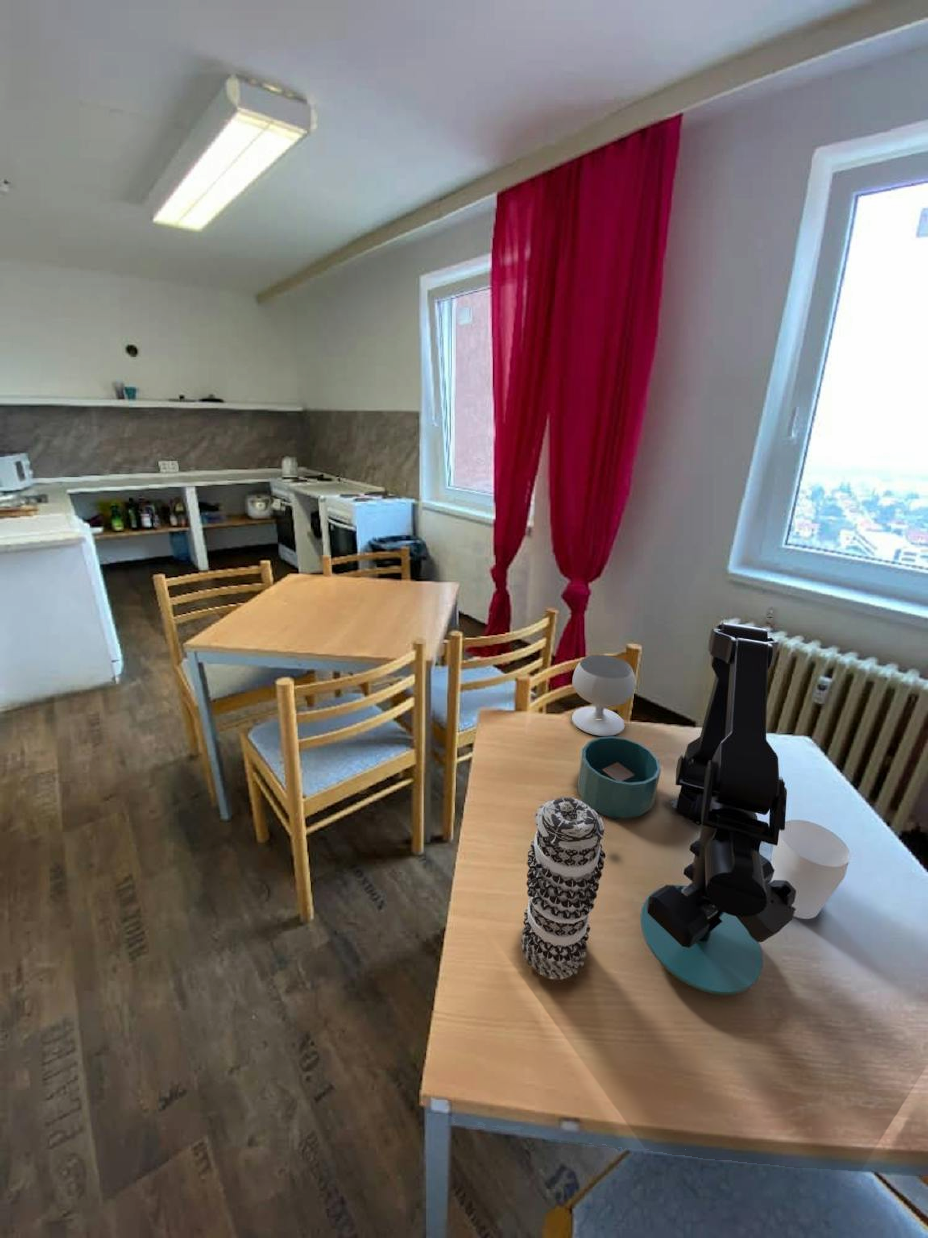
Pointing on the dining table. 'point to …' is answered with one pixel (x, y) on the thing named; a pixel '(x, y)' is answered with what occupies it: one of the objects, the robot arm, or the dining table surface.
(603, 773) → the block
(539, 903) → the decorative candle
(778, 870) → the cup
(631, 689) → the chalice
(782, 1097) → the dining table surface
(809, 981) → the dining table surface
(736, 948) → the bin lid
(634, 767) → the bin
